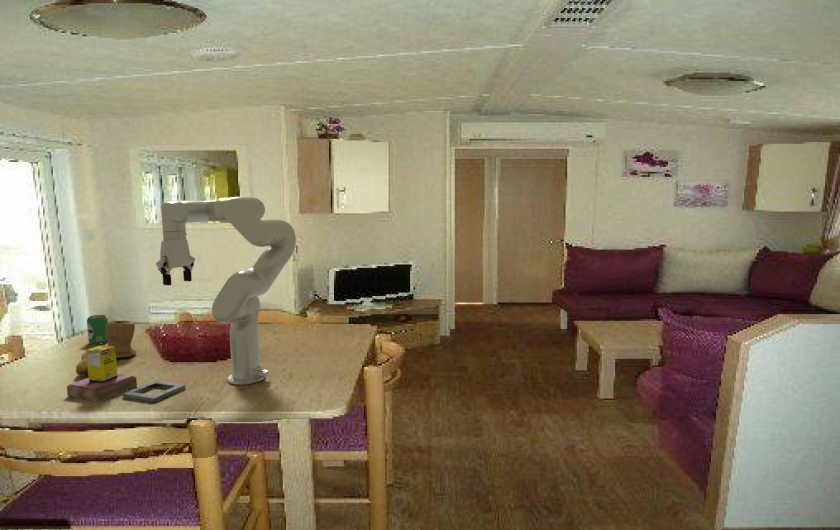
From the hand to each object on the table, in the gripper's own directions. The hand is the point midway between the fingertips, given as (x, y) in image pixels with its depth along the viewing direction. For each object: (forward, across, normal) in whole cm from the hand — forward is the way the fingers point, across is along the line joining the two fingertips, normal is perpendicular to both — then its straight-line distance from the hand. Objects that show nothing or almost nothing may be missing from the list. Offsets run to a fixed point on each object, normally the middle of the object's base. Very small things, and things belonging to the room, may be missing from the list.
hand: (177, 283), depth 189 cm
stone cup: (+34, -7, -41) cm, 53 cm away
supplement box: (+30, +25, -10) cm, 40 cm away
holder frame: (+33, +21, +8) cm, 40 cm away
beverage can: (+34, -21, -68) cm, 79 cm away
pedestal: (+33, +25, -10) cm, 43 cm away
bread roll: (+34, +12, -29) cm, 46 cm away
